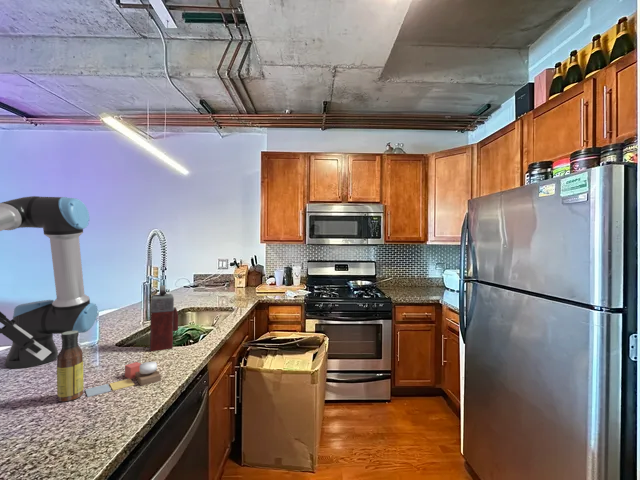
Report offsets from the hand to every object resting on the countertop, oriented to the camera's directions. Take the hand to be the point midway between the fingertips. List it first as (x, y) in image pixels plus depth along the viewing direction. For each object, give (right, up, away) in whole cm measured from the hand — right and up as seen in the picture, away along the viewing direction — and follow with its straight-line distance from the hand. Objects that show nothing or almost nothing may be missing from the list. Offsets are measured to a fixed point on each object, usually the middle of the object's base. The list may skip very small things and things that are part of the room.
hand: (37, 347), depth 91 cm
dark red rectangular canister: (+12, -17, +50) cm, 54 cm away
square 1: (+13, -16, +7) cm, 22 cm away
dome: (+24, -14, +16) cm, 32 cm away
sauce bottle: (+8, -16, +2) cm, 18 cm away
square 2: (+18, -16, +11) cm, 27 cm away
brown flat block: (+24, -16, +16) cm, 33 cm away
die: (+17, -17, +19) cm, 30 cm away
